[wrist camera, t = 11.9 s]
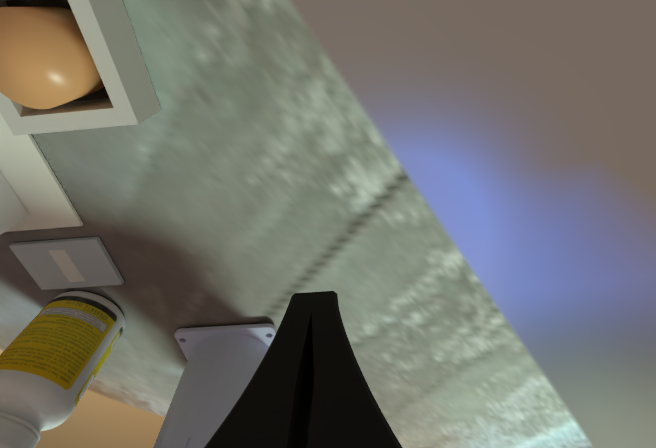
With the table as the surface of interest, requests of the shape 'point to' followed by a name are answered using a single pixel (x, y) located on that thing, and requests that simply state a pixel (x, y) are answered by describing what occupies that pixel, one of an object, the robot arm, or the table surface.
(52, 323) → the supplement bottle
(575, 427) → the table surface
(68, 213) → the paper sheet
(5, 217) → the grey rectangular prism
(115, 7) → the button box
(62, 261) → the card
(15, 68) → the button
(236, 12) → the table surface
